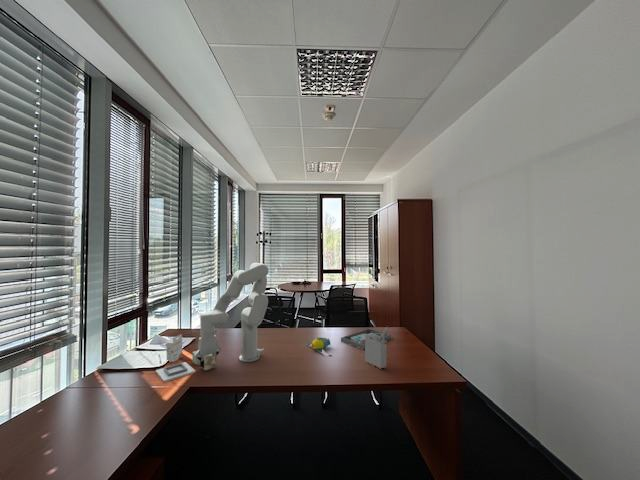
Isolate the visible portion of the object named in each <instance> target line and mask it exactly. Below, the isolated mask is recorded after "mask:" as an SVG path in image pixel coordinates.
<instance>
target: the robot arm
mask: <svg viewBox="0 0 640 480" xmlns="http://www.w3.org/2000/svg"><path fill="white" fill-rule="evenodd" d="M269 270H270V269H269V267H268V265H266V264H264V263H262V262H261V263H260V262H253V263H251V264H250V266H249V269H247V270H243V269H239V270H236V271H235V272H234V274H233V275H232V277H231V279H230V281H229V284H228V285H227V287H226V290H225V291H224V292H223V294H221V296H220V297H219V299H218V300H217V301H216V304H215V306H214V307H213V310H212V311H211V312H210V311H209V312H208V311H207V312H203V313H201V314H200V317H199V318H200V320H199V322H200V337H199V338H198V343H197V350H196V351H197V353H196V354H195V355H194V357H195V358H197V359H199V360H200V364H199V365H200V367H201V368H202V369H203V368H204V361H203V359H204V356H206V355H209V354H212V355H214V356H215V360H216V361H217V357H218V355H219V354H220V351H222V348H221V347H220V346H219V345H218V339H217V336H216V334H217V333H218V330H216V329H215V326H222V325H226V324H227V323H228V322H229V321H230V315H229V314H228V313H227V312H226V311H227V309H228V307H229V306H230V305H231V304H232V303H233V302H234V301H235V300H238V298H239V297H240V295H241V292H242V291H243V288H244V286H248V285H251V284H252V285H251V286H252V287H251V290H250V292H249V295H248V299H247V300H248V304H249V305H250V306H251V307H250V306H249V307H245V308H243V310H242V311H241V313H240V323H241V354H240V355H239V357H238V359H239V361H240V362H243V363H252V362H255V361H257V360H259V359H260V357H261V356H260V355H261V353H264V352H265V348H258V327H259V326H260V325H261V324H262V323H263V322H262V321H263V320H264V317H265V315H266V312H267V308H268V304H269V298H268V296H267V294H265V292H266V289H267V285H268V277H267V275H268V274H269ZM199 354H200V357H199V356H198V355H199Z"/></svg>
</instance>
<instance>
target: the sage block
mask: <svg viewBox="0 0 640 480" xmlns="http://www.w3.org/2000/svg"><path fill="white" fill-rule="evenodd" d="M197 351H198V350H195V351H192V363H193V364H194V365H200V360H199V359H197V358H195V357H194V355H195V354H196V353H197ZM198 356H199V357H200V354H199V355H198Z"/></svg>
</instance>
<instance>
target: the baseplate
mask: <svg viewBox="0 0 640 480" xmlns="http://www.w3.org/2000/svg"><path fill="white" fill-rule="evenodd" d="M155 373H156V374H157V376H158V377H159V378H160V380H161V381H162V382H163V383H166V382H170V381H172V380H173V381H174V380H176V379H179V378H184V377H186V376H190V375H192V374H195V373H196V370H195V369H194V368H193V367H192V366H191V365H190V364H189V363H188V362H186V361H183V362H181V363H177V364H176V363H175V364H173V365H169V366H166V367H161V368H158V369H156V370H155ZM189 374H190V375H189Z"/></svg>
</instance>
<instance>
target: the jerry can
mask: <svg viewBox="0 0 640 480" xmlns="http://www.w3.org/2000/svg"><path fill="white" fill-rule="evenodd" d="M388 329H390V326H386V328H384V330H383V331H382V332H383V336H379V335H375V334H373V333H366V335H365V350H364V362H365V361H367V362H369V363H372V364H374V365H376V366H378V367H380V368H381V367H384V366H386V367H387V344H386V343H387V341H388V340H384V335H385V333H387V330H388Z"/></svg>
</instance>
